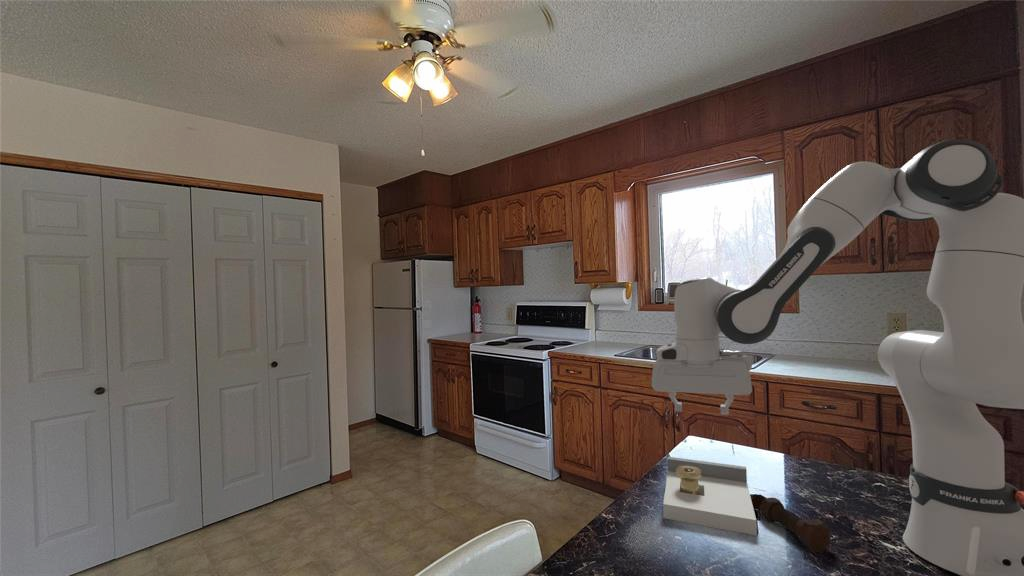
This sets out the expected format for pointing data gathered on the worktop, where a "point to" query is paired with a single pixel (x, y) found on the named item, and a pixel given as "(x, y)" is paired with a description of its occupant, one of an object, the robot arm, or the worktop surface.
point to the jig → (711, 497)
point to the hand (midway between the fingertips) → (701, 412)
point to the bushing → (689, 479)
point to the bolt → (794, 523)
